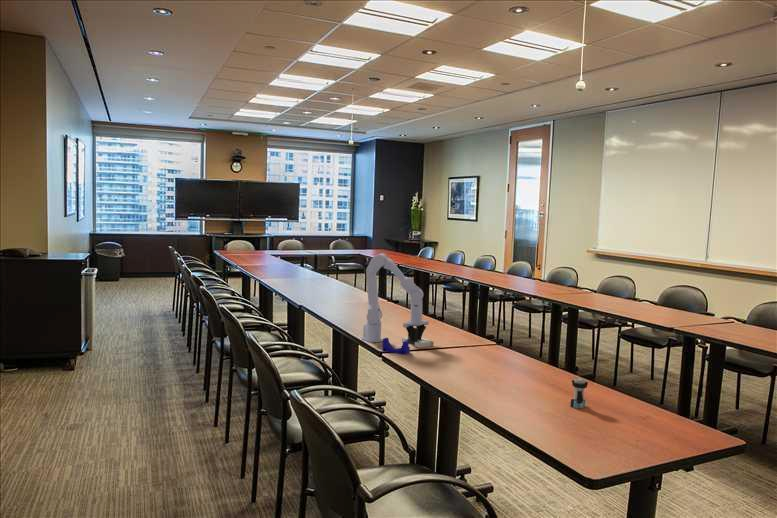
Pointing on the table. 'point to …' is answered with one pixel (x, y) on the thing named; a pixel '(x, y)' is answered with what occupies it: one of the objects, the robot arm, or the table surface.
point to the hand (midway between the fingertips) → (415, 340)
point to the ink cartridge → (414, 337)
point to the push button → (579, 393)
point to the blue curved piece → (389, 348)
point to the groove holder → (420, 342)
